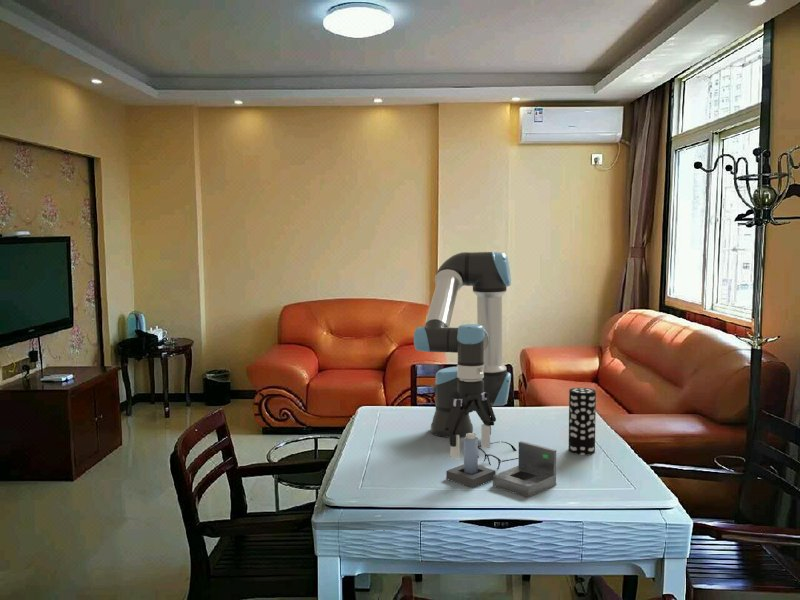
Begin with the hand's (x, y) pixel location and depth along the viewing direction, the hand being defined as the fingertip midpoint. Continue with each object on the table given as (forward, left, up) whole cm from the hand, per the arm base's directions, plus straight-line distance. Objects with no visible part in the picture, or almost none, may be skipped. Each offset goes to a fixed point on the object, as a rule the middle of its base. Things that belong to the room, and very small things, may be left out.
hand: (470, 452), depth 191 cm
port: (+14, +6, -8) cm, 17 cm away
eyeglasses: (-3, +21, -9) cm, 23 cm away
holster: (0, 0, -8) cm, 8 cm away
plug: (0, 0, -8) cm, 8 cm away
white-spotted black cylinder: (+9, +45, -8) cm, 47 cm away
